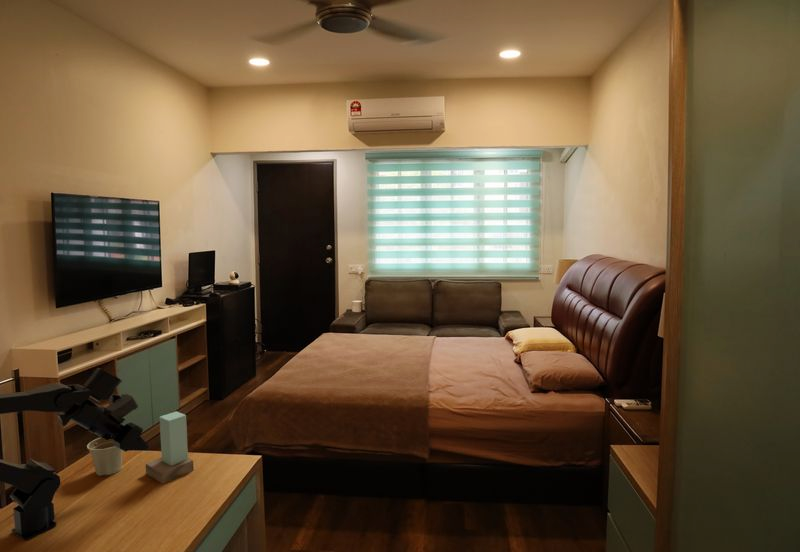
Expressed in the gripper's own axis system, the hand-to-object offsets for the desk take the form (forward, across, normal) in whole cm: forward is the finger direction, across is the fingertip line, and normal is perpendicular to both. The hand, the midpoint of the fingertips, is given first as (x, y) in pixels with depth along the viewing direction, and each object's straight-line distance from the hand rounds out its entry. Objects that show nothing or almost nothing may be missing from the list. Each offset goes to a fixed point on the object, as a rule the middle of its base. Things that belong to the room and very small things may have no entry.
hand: (139, 443), depth 130 cm
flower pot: (+7, +15, +10) cm, 19 cm away
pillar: (+13, 0, -1) cm, 13 cm away
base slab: (+14, 0, +2) cm, 14 cm away
